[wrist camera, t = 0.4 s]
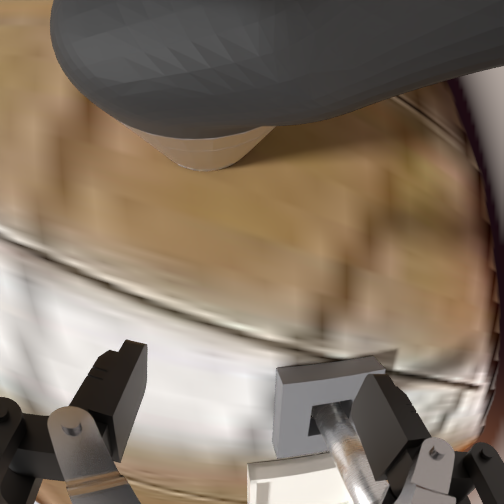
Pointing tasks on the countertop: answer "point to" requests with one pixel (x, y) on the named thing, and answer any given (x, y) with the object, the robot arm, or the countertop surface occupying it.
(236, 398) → the countertop surface
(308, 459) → the tray
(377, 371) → the block
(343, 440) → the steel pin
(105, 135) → the countertop surface
